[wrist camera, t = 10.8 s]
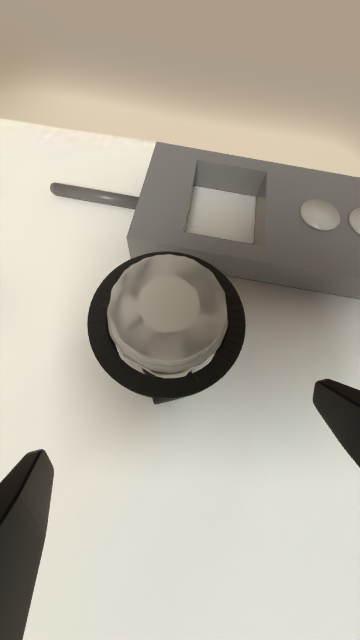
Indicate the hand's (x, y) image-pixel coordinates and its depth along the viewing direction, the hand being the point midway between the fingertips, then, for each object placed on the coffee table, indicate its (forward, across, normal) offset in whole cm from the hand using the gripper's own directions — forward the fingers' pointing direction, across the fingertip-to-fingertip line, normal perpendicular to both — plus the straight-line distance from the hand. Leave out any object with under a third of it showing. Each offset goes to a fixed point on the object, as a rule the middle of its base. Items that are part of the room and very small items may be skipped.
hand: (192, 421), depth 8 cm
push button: (+9, 0, +3) cm, 9 cm away
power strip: (+16, -7, -5) cm, 19 cm away
